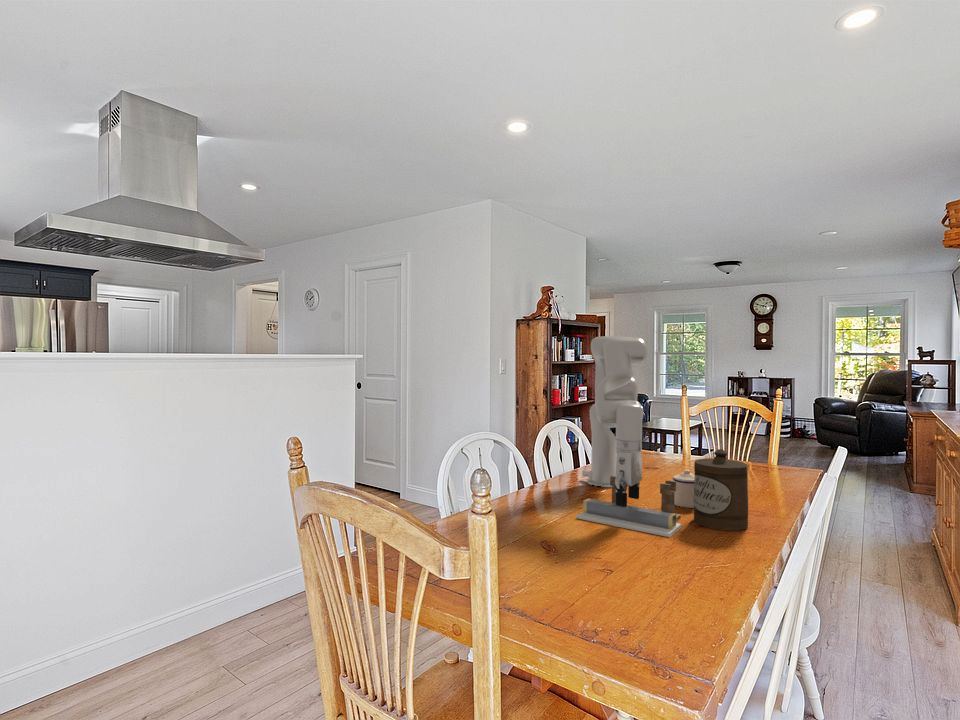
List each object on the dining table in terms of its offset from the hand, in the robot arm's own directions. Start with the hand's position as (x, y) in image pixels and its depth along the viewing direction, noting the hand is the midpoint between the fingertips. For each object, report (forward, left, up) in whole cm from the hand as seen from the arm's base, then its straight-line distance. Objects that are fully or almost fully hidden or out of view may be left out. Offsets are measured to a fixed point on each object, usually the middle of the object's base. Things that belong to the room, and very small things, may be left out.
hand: (627, 502), depth 161 cm
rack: (0, +11, -6) cm, 13 cm away
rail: (0, -1, -5) cm, 5 cm away
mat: (0, -1, -6) cm, 6 cm away
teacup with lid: (+8, +32, -6) cm, 34 cm away
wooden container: (+22, +16, -6) cm, 28 cm away
